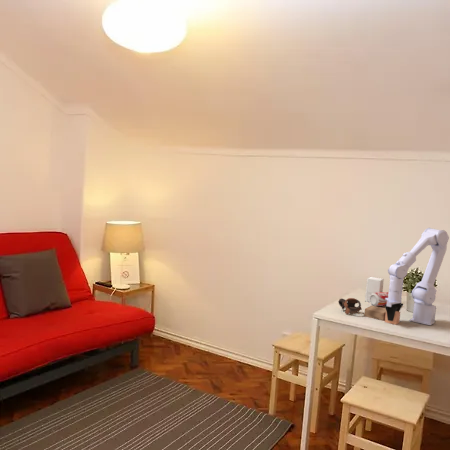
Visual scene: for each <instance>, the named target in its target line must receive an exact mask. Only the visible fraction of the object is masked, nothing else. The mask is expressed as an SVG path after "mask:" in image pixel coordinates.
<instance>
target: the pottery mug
mask: <svg viewBox="0 0 450 450" xmlns="http://www.w3.org/2000/svg"><path fill="white" fill-rule="evenodd" d="M356 304H357V305H358V306H356ZM338 305H339V306H340V307H341V309H342V310H345V312H344V314H346V315H347V316H348V315H349V314H356V313H358V312H360V311H362V303H361V301H360V300H358V299H357V298H353V297H349V298H347V299H344V298H339V300H338Z"/></svg>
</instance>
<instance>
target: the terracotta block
mask: <svg viewBox="0 0 450 450" xmlns="http://www.w3.org/2000/svg"><path fill="white" fill-rule="evenodd" d="M400 318H401V311H399V312H398V311H396V312H395V315H394V319H393V321H389V320H388V318H387V311H386V315H385V320H384V323H387V324H390V325H391V324H392V325H396V326H397V325H398V324H400V320H401V319H400Z"/></svg>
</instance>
